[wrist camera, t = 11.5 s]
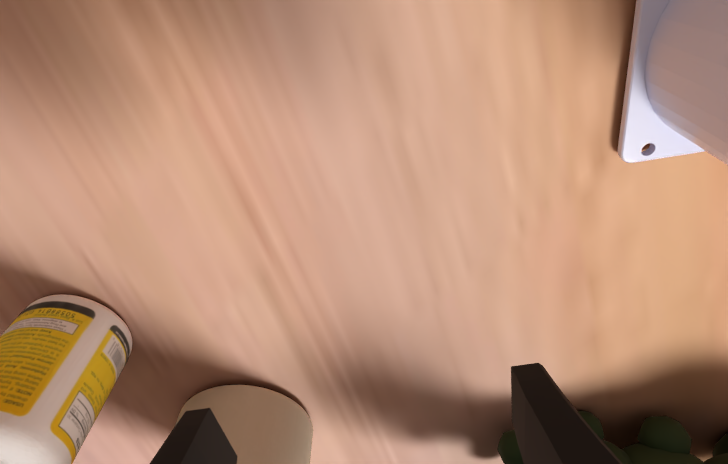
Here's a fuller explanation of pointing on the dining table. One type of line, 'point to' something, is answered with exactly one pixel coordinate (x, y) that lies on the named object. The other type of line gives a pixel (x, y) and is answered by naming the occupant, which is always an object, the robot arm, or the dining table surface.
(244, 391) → the travel mug
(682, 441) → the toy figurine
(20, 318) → the supplement bottle
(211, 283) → the dining table surface
